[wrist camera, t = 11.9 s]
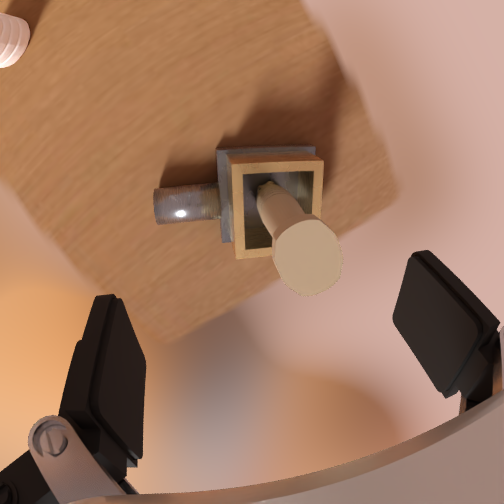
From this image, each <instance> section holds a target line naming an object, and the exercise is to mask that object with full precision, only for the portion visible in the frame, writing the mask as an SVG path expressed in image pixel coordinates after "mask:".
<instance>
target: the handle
mask: <svg viewBox="0 0 504 504" xmlns="http://www.w3.org/2000/svg"><path fill="white" fill-rule="evenodd" d="M257 191H258V194H257V197H256V204H257V208H258V211H259V214H260V217H261V219H262V221H263V223H264V225H265V226H266V228H267V230H268V231H269V233H270V234H271V236H272V237H273V239H272V258H273V261H274V264H275V266H276V268H277V270H278V272H279V274H280V276H281V278H282V280H283V282H284V283H285V285H286V286H288V287H289V288H290V289H291V290H293V291H295V292H296V293H298V294H299V295H301V296H312V295H316V294H318V293H321V292H323V291H325V290H327V289H329V288H330V287H331V286H333V285H334V284H335V283H336V282H337V281H338V279H339V278H340V275H341V270H342V264H343V254H342V250H341V247H340V244H339V241H338V239H337V237H336V235H335V234H334V232H333V231H332V230H331V229H330V228H329V227H328V226H327V225H326V224H325V223H324V222H323V221H321V220H320V219H319V218H318V217H316V216H315V215H314V214H305V213H304V211H303V210H302V208H301V207H300V205H299V204H298V202H297V201H296V199H295V198H294V197H293V196H292V195H291V194H290V193H289V192H288V191H287V190H286V189H284V188H283V187H281V186H279V185H275V184H274V183H273V182H272V181H268V182H267V183H266V184H264V185H259V186H258V187H257Z"/></svg>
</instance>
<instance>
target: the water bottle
mask: <svg viewBox="0 0 504 504" xmlns="http://www.w3.org/2000/svg"><path fill="white" fill-rule="evenodd" d="M29 38H30V29H29V26H28V24H27V22H26V21H25V20H23V19H21V18H18V17H15V16H11V15H8V14H3V13H0V68H4V67H7V66H10V65H12V64H13V63H15V62H16V61H17V60H18V59H19V58H20V56H21V55H22V54H23V53H24V51H25V50H26V48H27V45H28V41H29Z"/></svg>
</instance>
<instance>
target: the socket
mask: <svg viewBox="0 0 504 504" xmlns="http://www.w3.org/2000/svg"><path fill="white" fill-rule="evenodd" d="M315 150H316V147H315V146H313V145H311V144H298V145H261V146H241V147H225V148H216V161H217V179H218V182H216V183H205V184H194V185H184V186H175V187H166V188H157V189H154V212H155V218H156V222H157V224H158V225H162V224H171V223H181V222H190V221H200V220H211V219H220V225H221V238H222V243H226V242H232V246H233V250H234V254H235V258H236V259H244V258H254V257H264V256H272V239H273V237H272V236H271V234H270V233H269V231H268V230H267V228H266V226H265V225H264V223H263V221H262V219H261V217H260V214H259V211H258V208H257V204H256V197H257V194H258V191H257V187H258V186H259V185H264V184H266V183H267V182H268V181H272V182H273V183H274V184H275V185H279V186H281V187H283V188H284V189H286V190H287V191H288V192H289V193H290V194H291V195H292V196H293V197H294V198H295V199H296V201H297V202H298V204H299V205H300V207H301V208H302V210H303V211H304V213H305V214H314V215H315V216H316V217H318V218H319V219H320V218H321V204H322V188H323V169H324V161H323V160H322V159H320V158H318V157H317V156H315Z"/></svg>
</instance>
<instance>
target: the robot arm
mask: <svg viewBox="0 0 504 504" xmlns="http://www.w3.org/2000/svg"><path fill="white" fill-rule="evenodd" d="M393 323H394V325H395V327H396V328H397V329H398V331H399V332H400V334H401V335H402V337H403V338H404V340H405V341H406V343H407V344H408V346H409V347H410V349H411V350H412V352H413V353H414V355H415V356H416V358H417V359H418V361H419V362H420V364H421V365H422V367H423V369H424V370H425V372H426V373H427V375H428V376H429V378H430V379H431V381H432V383H433V384H434V386H435V387H436V389H437V390H438V391H439V392H442V394H443V396H444V397H445V398H448V397H450V396H452V395H454V394H456V393H457V392H458V390H460V392H461V402H460V409H459V416H457V417H455V418H453V419H452V420H449V421H448V422H446V423H444V424H442V425H440V426H438V427H436V428H434V429H432V430H429V431H427V432H425V433H423V434H421V435H418V436H416V437H414V438H412V439H409V440H407V441H405V442H402V443H400V444H398V445H395V446H393V447H390V448H388V449H385V450H382V451H380V452H377V453H375V454H372V455H369V456H366V457H363V458H360V459H358V460H354V461H351V462H348V463H346V464H342V465H338V466H335V467H332V468H328V469H325V470H321V471H317V472H313V473H309V474H306V475H301V476H297V477H293V478H288V479H283V480H278V481H274V482H268V483H262V484H257V485H250V486H244V487H236V488H228V489H220V490H211V491H200V492H186V493H169V494H168V493H167V494H166V493H165V494H139V493H138V492H137V491H136V489H135V488H134V487H133V486H132V485H131V484H130V483H129V482H128V481H127V479H126V478H125V477H126V476H127V473H126V472H127V467H137V459H141V458H142V456H143V418H144V417H143V416H144V395H145V378H146V360H145V357H144V354H143V352H142V349H141V347H140V345H139V342H138V340H137V337H136V335H135V332H134V330H133V327H132V325H131V322H130V319H129V317H128V314H127V311H126V309H125V306H124V303H123V301H122V299H121V298H116V296H115V295H114V294H109V295H99V296H96V297H95V299H94V302H93V305H92V308H91V311H90V314H89V317H88V321H87V324H86V327H85V330H84V334H83V337H82V340H79V341H78V342H77V344H76V346H75V350H74V353H73V357H72V361H71V364H70V368H69V371H68V375H67V379H66V384H65V388H64V392H63V396H62V400H61V404H60V409H59V414H58V416H54V415H51V416H45V417H43V418H41V419H40V420H38V421H37V422H36V423H35V424H34V425H33V427H32V428H31V430H30V433H29V436H28V446H29V450H28V451H27V452H25V453H24V454H23V455H21V456H20V457H19V458H18V459H16V460H15V461H14V462H12V463H11V464H10V465H9V466H7V467H6V468H5V469H3V470H2V471H1V472H0V504H504V326H503V327H502V328H501V330H500V332H498V331H497V328H498V326H499V324H500V322H499V320H498V319H497V318H496V317H495V316H494V315H493V314H492V313H491V312H490V310H489V309H488V308H487V307H486V306H485V305H484V304H483V303H482V302H481V301H480V300H479V299H478V298H477V297H476V295H474V293H473V292H472V291H471V290H470V289H469V288H468V287H467V286H466V285H465V284H464V283H463V282H462V281H461V280H460V279H459V278H458V277H457V276H456V275H454V273H453V272H452V271H450V269H449V268H447V267H446V266H445V265H444V264H443V263H442V262H441V261H440V260H439V259H438V258H437V257H436V256H435V255H434V254H433V253H432V252H430V251H429V250H424V251H418V252H414V253H413V254H412V255H411V257H410V258H409V259H408V262H407V266H406V270H405V274H404V278H403V281H402V285H401V289H400V292H399V296H398V299H397V303H396V306H395V310H394V313H393Z"/></svg>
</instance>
